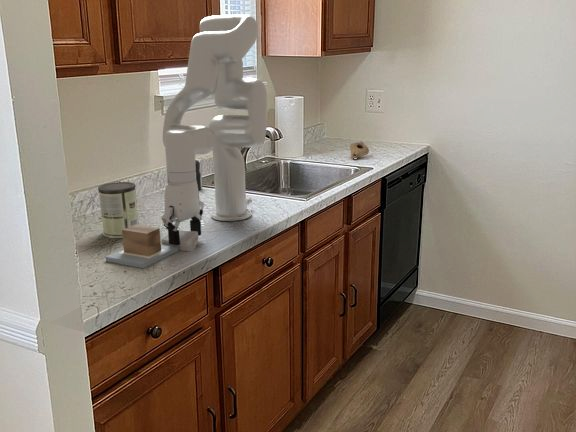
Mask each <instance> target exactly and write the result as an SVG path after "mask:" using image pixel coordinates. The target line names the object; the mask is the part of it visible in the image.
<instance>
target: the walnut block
mask: <svg viewBox="0 0 576 432" xmlns="http://www.w3.org/2000/svg"><path fill="white" fill-rule="evenodd" d="M122 236H123V238H122V244H123V249H124V252H126V253H132V254H138V255H143V256H151V255H153V254H155V253H157V252H159V251H161V244H162V243H161V240H162V239H161V229H160V227H152V226H147V225H140V224H139V225H133V226H130V227H128V228H125V229H123V230H122Z"/></svg>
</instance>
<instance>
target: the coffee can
mask: <svg viewBox="0 0 576 432" xmlns="http://www.w3.org/2000/svg"><path fill="white" fill-rule="evenodd" d="M97 190H98V196H99V203H100V204H99V205H100V211H101V212H100V215H101V221H102V231H103V233H102V234H103V236H104V237H105V238H109V239H123V236H122V230H123V229H125V228H128V227H130V226H133V225H140V224H139V214H138V213H139V212H138V204H137V193H136V192H137V191H136V183H134V182H131V181H130V182H129V181H115V182H109V183H103V184H101V185H99V186H98V187H97Z"/></svg>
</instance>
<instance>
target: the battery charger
mask: <svg viewBox="0 0 576 432" xmlns="http://www.w3.org/2000/svg"><path fill="white" fill-rule="evenodd" d="M195 164H196V181H197V185H198V191H199V189H200V190H203V183H202V182H203V176H202V175H203V173H202V171H203V170H202V169H203V167H202V162H201V161H200V159H196V158H195Z"/></svg>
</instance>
